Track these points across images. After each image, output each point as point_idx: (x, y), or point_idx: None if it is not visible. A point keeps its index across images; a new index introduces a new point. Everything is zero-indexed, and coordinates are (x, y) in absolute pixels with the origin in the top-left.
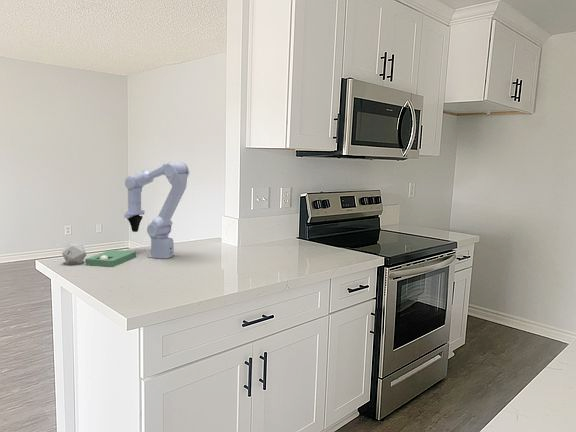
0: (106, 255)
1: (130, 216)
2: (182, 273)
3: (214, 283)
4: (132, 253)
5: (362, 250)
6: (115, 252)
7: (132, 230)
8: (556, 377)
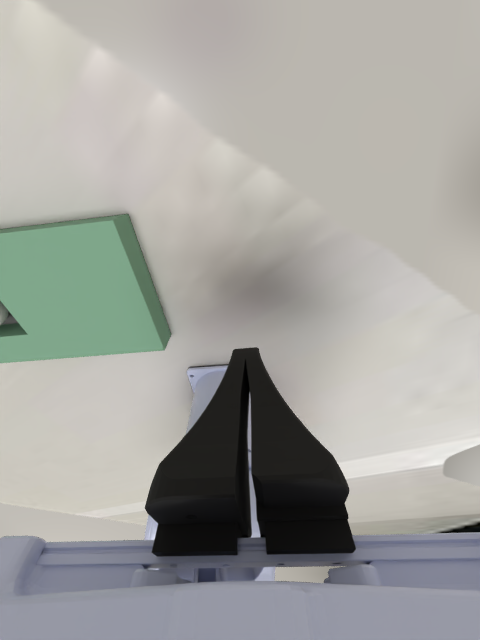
0: (10, 291)
1: (104, 562)
2: (114, 468)
3: (105, 501)
4: (135, 351)
5: None
6: (86, 287)
7: (232, 357)
8: None
